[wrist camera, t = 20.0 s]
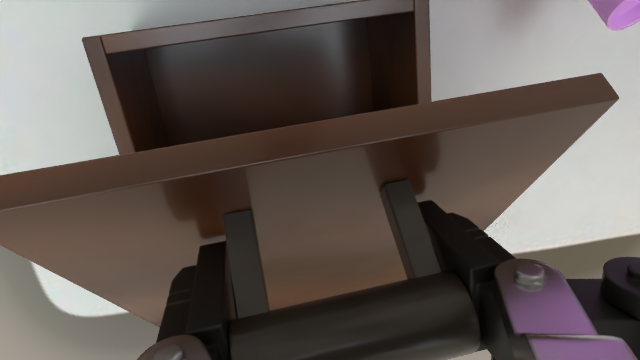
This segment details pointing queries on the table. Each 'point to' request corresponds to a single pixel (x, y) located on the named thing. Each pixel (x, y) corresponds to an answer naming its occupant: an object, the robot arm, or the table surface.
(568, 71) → the table surface
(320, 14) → the chest
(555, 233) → the table surface
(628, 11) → the teapot
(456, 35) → the table surface
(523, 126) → the lid
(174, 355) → the robot arm
